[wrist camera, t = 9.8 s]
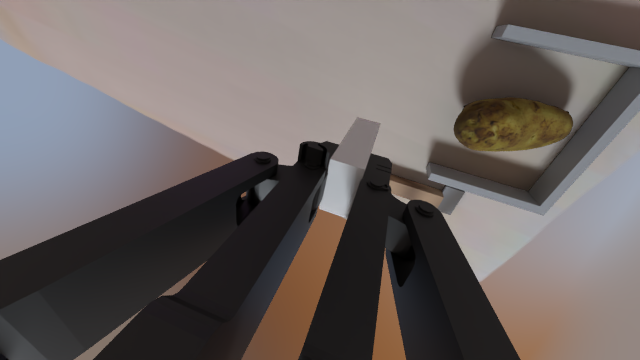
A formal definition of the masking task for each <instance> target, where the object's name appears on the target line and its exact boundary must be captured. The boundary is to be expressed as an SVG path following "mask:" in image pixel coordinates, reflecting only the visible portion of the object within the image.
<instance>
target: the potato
mask: <svg viewBox="0 0 640 360" xmlns="http://www.w3.org/2000/svg"><path fill="white" fill-rule="evenodd" d="M572 126H573V120H572V117H571V115H570V114H569V112H568V111H564V110H562V109H560V108H558V107H555V106H550V105H547V104H544V103H541V102H539V101H533V100H528V99H522V98H513V97H509V98H496V99H484V100H479V101H475V102H472V103H470V104H468V105H465V106H464V109H463V111H462V112H461V113H460V114H459V116H458V118H457V119H456V122H455V125H454V134H455V136H456V138H457V139H458V140H459V142H460V143H462V144H463V145H464V146H466V147H468V148H470V149H473V150H478V151H517V150H527V149H533V148H538V147H542V146H546V145H549V144H552V143H555V142H557V141H560V140H562V139H563V138H565V137H566V136H567V135H568V134H569V133H570V131H571V129H572Z"/></svg>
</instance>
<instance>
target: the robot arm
mask: <svg viewBox="0 0 640 360" xmlns="http://www.w3.org/2000/svg"><path fill="white" fill-rule="evenodd" d="M379 127H380V123H377V122H373V121H369V120H366V119H362V118H358V117H357V119H356V120H355V122H354V124H353V125H352V127H351V128H350V130H349V131H348V133H347V134H346V136H345V137H344V139H343V140H342V142H341V143H340V145H338V144H335V143H331V142H328V141H326V142H323V143H318V142H312V141H307V142H303V143H301V144H300V148H299V155H298V161H297V162H296V163H295V164H294V166H286V165H278V158H277V157H276V156H275V155H273V154H271V153H268V152H255V153H251V154H249V155H247V156H244V157H242V158H240V159H237V160H235V161H232V162H230V163H228V164H225V165H223V166H221V167H218V168H216V169H214V170H211V171H209V172H207V173H204V174H202V175H200V176H197V177H195V178H192V179H190V180H188V181H185V182H183V183H181V184H178V185H176V186H174V187H171V188H169V189H167V190H164V191H162V192H160V193H157V194H155V195H153V196H150V197H148V198H145V199H143V200H141V201H138V202H136V203H134V204H131V205H129V206H127V207H124V208H122V209H119V210H117V211H115V212H113V213H110V214H108V215H105V216H103V217H101V218H98V219H96V220H94V221H92V222H89V223H86V224H84V225H82V226H79V227H77V228H75V229H73V230H70V231H68V232H65V233H63V234H61V235H58V236H56V237H54V238H51V239H49V240H46V241H44V242H42V243H39V244H37V245H35V246H33V247H30V248H28V249H25V250H23V251H20V252H18V253H16V254H14V255H11V256H9V257H6V258H4V259H2V260H0V360H73V359H75V358H76V357H78V356H79V355H81V354H82V353H83V352H85V351H86V350H88V349H89V348H90V347H92V346H93V345H94V344H96V343H97V342H98V341H100V340H101V339H102V338H104V337H105V336H107V335H108V334H109V333H111V332H112V331H113V330H115V329H116V328H117V327H118V326H120V325H121V324H123V323H124V322H125V321H126V320H128V319H129V318H131V317H132V316H133V315H135V314H136V313H137V312H139V311H140V310H141V309H142V310H141V311H140V312H139V313H138V315H137V316H135V317H134V319H132V320H131V321H130V323H129V324H128V325H127V326H126V327H125V328H124V329H123V330H122V331H121V332H120V333H119V334H118V335H117V336H116V337H115V338H114V339H113V340H112V341H111V342H110V343H109V344H108V345H107V346H106V347H105V348H104V349H103V350H102V351H101V352H100V353H99V354H98V355H97V356H96V357H95V358H94V359H93V360H241V359H242V357H243V355H244V353H245V351H246V349H247V347H248V345H249V343H250V341H251V340H252V337H253V335H254V333H255V332H256V330H257V328H258V326H259V324H260V322H261V320H262V318H263V316H264V314H265V313H266V311H267V309H268V307H269V305H270V303H271V301H272V299H273V297H274V295H275V293H276V291H277V290H278V288H279V286H280V284H281V282H282V280H283V278H284V276H285V274H286V272H287V270H288V268H289V266H290V265H291V263H292V261H293V259H294V257H295V255H296V253H297V251H298V249H299V247H300V245H301V243H302V241H303V239H304V238H305V236H306V234H307V232H308V230H309V228H310V226H311V224H312V222H313V220H314V218H315V216H316V213H317V209H318V206H319V204H320V207H319V209H321V210H324V211H327V212H330V213H333V214H336V215H338V216H341V217H344V218H347V221H346V224H345V227H344V230H343V233H342V236H341V238H340V242H339V244H338V247H337V250H336V253H335V256H334V259H333V262H332V264H331V267H330V270H329V273H328V276H327V279H326V282H325V285H324V288H323V291H322V293H321V296H320V299H319V302H318V305H317V308H316V311H315V314H314V317H313V320H312V322H311V325H310V328H309V332H308V334H307V337H306V340H305V343H304V346H303V348H302V351H301V354H300V356H299V359H298V360H372V355H373V345H374V337H375V329H376V320H377V312H378V311H377V310H378V303H379V294H380V286H381V277H382V267H383V260H384V251H385V248H386V259H387V264H388V269H389V273H390V278H391V284H392V289H393V294H394V299H395V304H396V309H397V314H398V319H399V325H400V330H401V335H402V339H403V345H404V350H405V355H406V360H520V358H519V356H518V354H517V352H516V351H515V349H514V347H513V345H512V343H511V341H510V339H509V338H508V336H507V334H506V332H505V330H504V328H503V326H502V325H501V323H500V321H499V319H498V317H497V315H496V313H495V312H494V310H493V308H492V306H491V304H490V302H489V300H488V299H487V297H486V295H485V293H484V291H483V289H482V287H481V285H480V284H479V282H478V280H477V278H476V276H475V274H474V272H473V271H472V269H471V267H470V265H469V263H468V261H467V259H466V258H465V256H464V254H463V252H462V250H461V248H460V246H459V245H458V243H457V241H456V239H455V237H454V235H453V233H452V232H451V230H450V228H449V226H448V224H447V222H446V220H445V219H444V217H443V215H442V213H441V212H440V211H439V209H437V208H436V207H435V206H434V205H432V204H431V203H429V202H426V201H422V200H411V201H409V202H408V204H405V203H403V202H401V201H400V200H398V199H396V198H395V197H394V196H393V195H392V194H391V187H390V185H389V184H390V176H391V168H392V163H391V162H390V160H389V159H388V158H385V157H381V156H378V155H374V154H371V151H372V148H373V145H374V142H375V139H376V136H377V133H378V130H379ZM244 192H246V196H244V197H242V198H241V194H242V193H244ZM320 202H321V203H320ZM207 260H208V261H207ZM206 261H207V262H206ZM204 262H206V263H205V264H204V265H203V266H202V267H201V268H200V269H199V271H198V272H197V273H196V274H195V275H194V276H193V277H192V278H191V279H190V280H189V282H188V283H187V284H186V285H185V286H184V287H183V288H182V289H181V290H180V291H179V292H178V293H176V294H174V295H171V296H170V295H169V296H161V297H159V296H160V295H162V294H163V293H164V292H166V291H167V290H168V289H169V288H171V287H172V286H173V285H175V284H176V283H177V282H179V281H180V280H182V279H183V278H184V277H186V276H187V275H188V274H190V273H191V272H192V271H194V270H195V269H196V268H198V267H199V266H200V265H202V264H203V263H204ZM158 297H159V298H158ZM156 298H157V299H156ZM145 306H146V307H145ZM144 307H145V308H144ZM143 308H144V309H143Z"/></svg>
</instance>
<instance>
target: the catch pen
mask: <svg viewBox="0 0 640 360" xmlns="http://www.w3.org/2000/svg"><path fill="white" fill-rule="evenodd" d="M491 38H495V39H500V40H505V41H510V42H514V43H519V44H524V45H529V46H534V47H538V48H543V49H548V50H553V51H557V52H562V53H567V54H572V55H576V56H581V57H586V58H591V59H595V60H600V61H605V62H610V63H614V64H619V65H624V66H629V69H628V70H627V71H626V72H625V73H624V75H623V76H622V77H621V78H620V80H619V81H618V82H617V83H616V85H615V86H614V87H613V88H612V89H611V91H610V92H609V93H608V94H607V96H606V97H605V98H604V99H603V100H602V102H601V103H600V104H599V105H598V107H597V108H596V109H595V110H594V112H593V113H592V114H591V115H590V116H589V118H588V119H587V120H586V121H585V123H584V124H583V125H582V126H581V128H580V129H579V130H578V131H577V132H576V134H575V135H574V136H573V137H572V139H571V140H570V141H569V142H568V143H567V145H566V146H565V147H564V148H563V150H562V151H561V152H560V153H559V155H558V156H557V157H556V158H555V159H554V161H553V162H552V163H551V164H550V166H549V167H548V168H547V169H546V171H545V172H544V173H543V174H542V175H541V177H540V178H539V179H538V180H537V182H536V183H535V184H534V185H533V187H532V188H531V189H530V190H529V191H528V192H527V191H524V190H521V189H517V188H514V187H511V186H507V185H504V184H501V183H497V182H494V181H491V180H487V179H484V178H481V177H477V176H474V175H471V174H467V173H464V172H461V171H457V170H454V169H451V168H447V167H444V166H441V165H437V164H434V163H431V162H429V164H428V166H427V168H426V170H427V177H428V180H431V181H434V182H437V183H441V184H444V185H447V186H450V187H453V188H457V189H460V190H463V191H466V192H470V193H473V194H476V195H479V196H482V197H486V198H489V199H492V200H495V201H498V202H502V203H505V204H508V205H511V206H515V207H518V208H521V209H524V210H527V211H531V212H534V213H537V214H540V215H544V214H545V213H546V212H547V211H548V210H549V209H550V208H551V207H552V206H553V205H554V203H555V202H556V201H557V200H558V199H559V198H560V197H561V196H562V195H563V194H564V193H565V191H566V190H567V189H568V188H569V187H570V186H571V185H572V184H573V183H574V182H575V181H576V179H577V178H578V177H579V176H580V175H581V174H582V173H583V172H584V171H585V170H586V169H587V167H588V166H589V165H590V164H591V163H592V162H593V161H594V160H595V159H596V158H597V157H598V156H599V154H600V153H601V152H602V151H603V150H604V149H605V148H606V147H607V146H608V145H609V144H610V142H611V141H612V140H613V139H614V138H615V137H616V136H617V135H618V134H619V133H620V132H621V130H622V129H623V128H624V127H625V126H626V125H627V124H628V123H629V122H630V121H631V120H632V118H633V117H634V116H635V115H636V114H637V113H638V112H639V111H640V51H639V50H634V49H629V48H624V47H619V46H614V45H609V44H604V43H599V42H594V41H589V40H584V39H579V38H574V37H569V36H564V35H559V34H554V33H549V32H544V31H539V30H534V29H529V28H524V27H519V26H514V25H509V24H507V25H502V26H497V27H496V29H495V31H494V33H493V35H492V37H491Z"/></svg>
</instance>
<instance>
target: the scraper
mask: <svg viewBox="0 0 640 360" xmlns="http://www.w3.org/2000/svg"><path fill="white" fill-rule="evenodd" d="M389 185H390V187H391V193H392V194H395V195H398V196H401V197H404V198H407V199H410V200H422V201H426V202H429V203H431V204H432V205H434V206H435V207H436V208H437V209H439V211H440V212H443V213H446V214H449V215H450V214H451V213H452V211H453V210H454V208H455V207H456V205H457V204H458V202H459V201H460V199H461V197H462V196H463V194H464V193H465V192H464V191H463V190H460V189H457V188H453V187H450V186H447V185H445V187H444V188H443V190H439V189H436V188H432V187H429V186H426V185H423V184H420V183H417V182H414V181H411V180H407V179H404V178H401V177H398V176H395V175H392V174H391V176H390V184H389Z"/></svg>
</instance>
